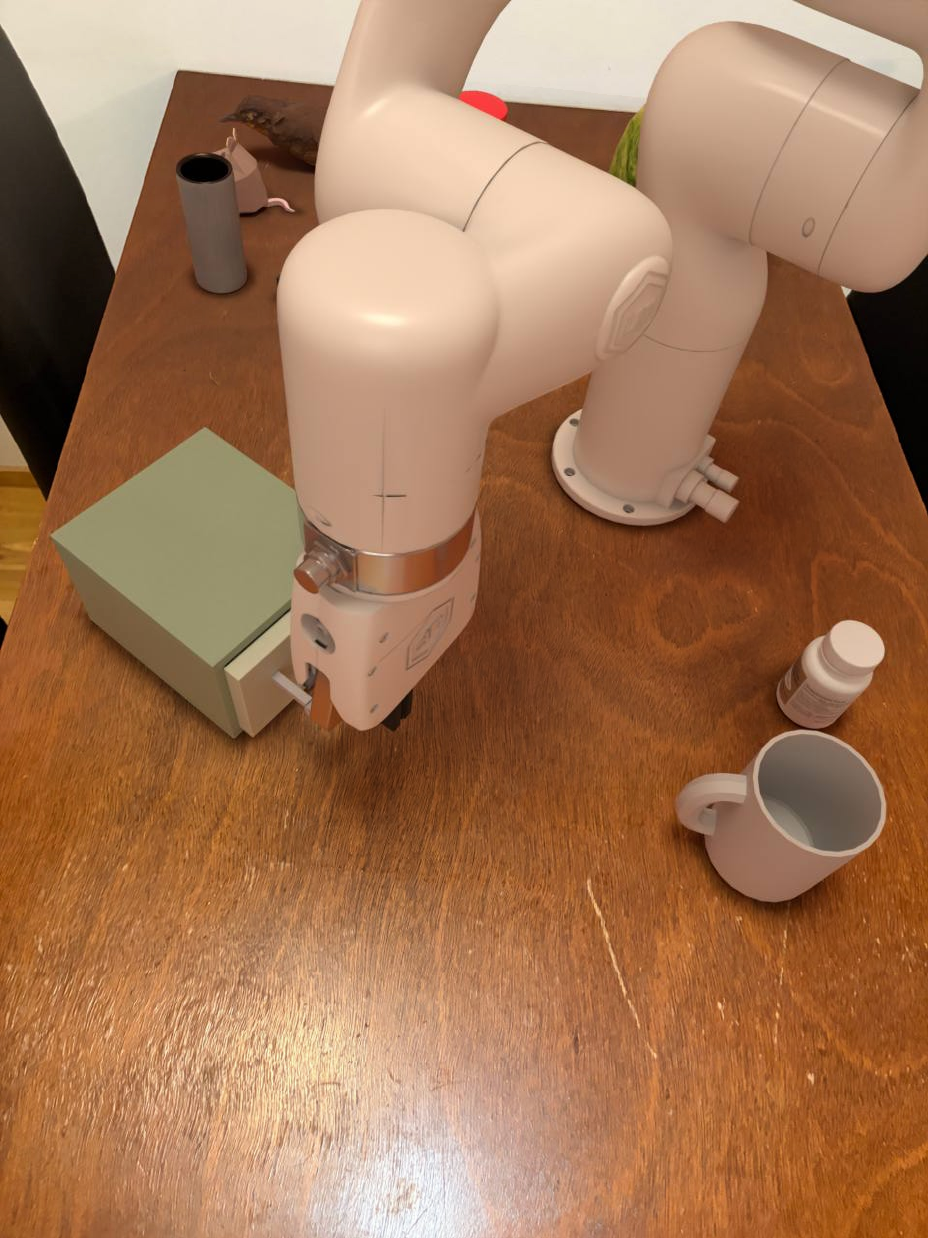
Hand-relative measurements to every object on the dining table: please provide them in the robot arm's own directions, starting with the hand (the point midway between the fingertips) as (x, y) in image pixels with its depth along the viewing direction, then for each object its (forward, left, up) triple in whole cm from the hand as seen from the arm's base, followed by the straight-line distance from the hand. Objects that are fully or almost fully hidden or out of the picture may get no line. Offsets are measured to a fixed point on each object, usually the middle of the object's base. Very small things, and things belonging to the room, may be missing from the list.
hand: (382, 708), depth 53 cm
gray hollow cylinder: (+41, -25, -4) cm, 48 cm away
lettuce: (+15, -63, -4) cm, 65 cm away
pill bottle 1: (+31, -48, -4) cm, 57 cm away
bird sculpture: (+46, -47, -4) cm, 65 cm away
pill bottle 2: (-20, -21, -4) cm, 29 cm away
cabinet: (+14, 0, -4) cm, 14 cm away
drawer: (+10, 0, -3) cm, 10 cm away
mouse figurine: (+47, -35, -4) cm, 59 cm away
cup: (-21, -9, -4) cm, 23 cm away
